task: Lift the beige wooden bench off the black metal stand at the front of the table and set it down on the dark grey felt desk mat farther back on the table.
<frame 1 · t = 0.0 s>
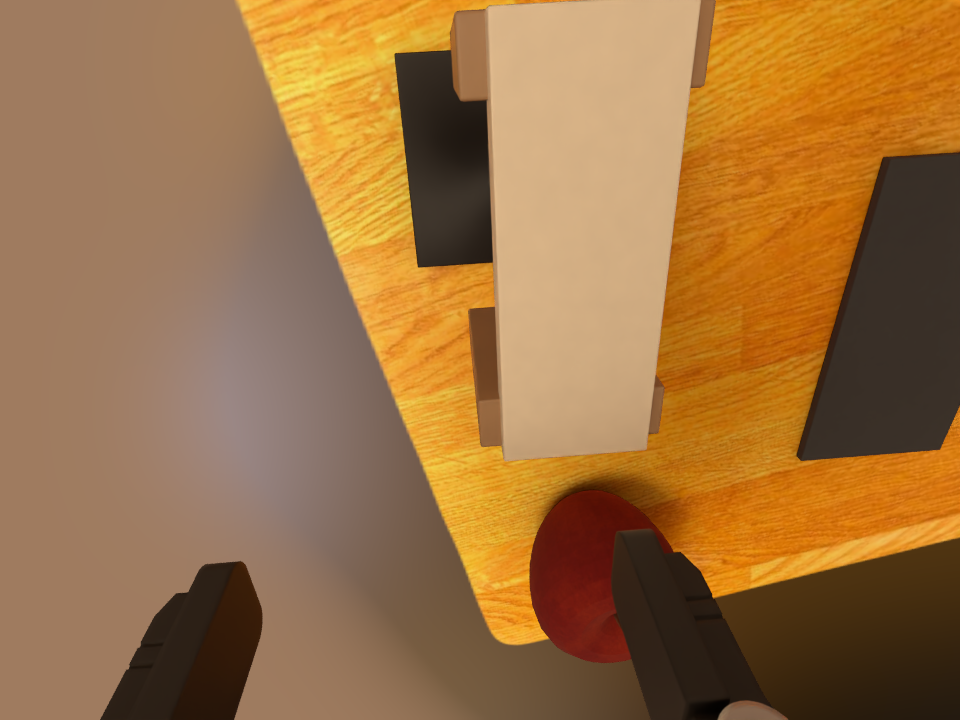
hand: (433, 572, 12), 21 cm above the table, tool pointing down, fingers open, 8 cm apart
beige wooden bench: (536, 204, 19), point 10 cm above the table, touching stand
apple: (582, 513, 40), on the table
mat: (911, 322, 34), on the table
stand: (506, 160, 28), on the table
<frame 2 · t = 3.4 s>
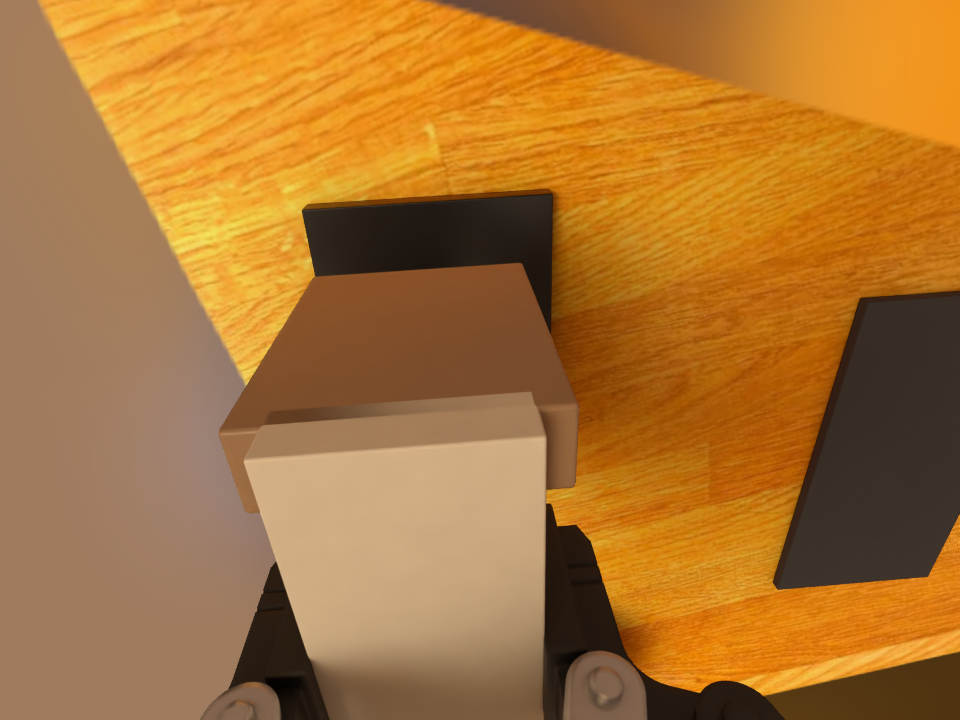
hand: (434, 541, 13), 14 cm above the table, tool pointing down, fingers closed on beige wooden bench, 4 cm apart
beige wooden bench: (437, 440, 16), point 10 cm above the table, touching gripper, stand
mat: (895, 455, 31), on the table
stand: (439, 307, 25), on the table
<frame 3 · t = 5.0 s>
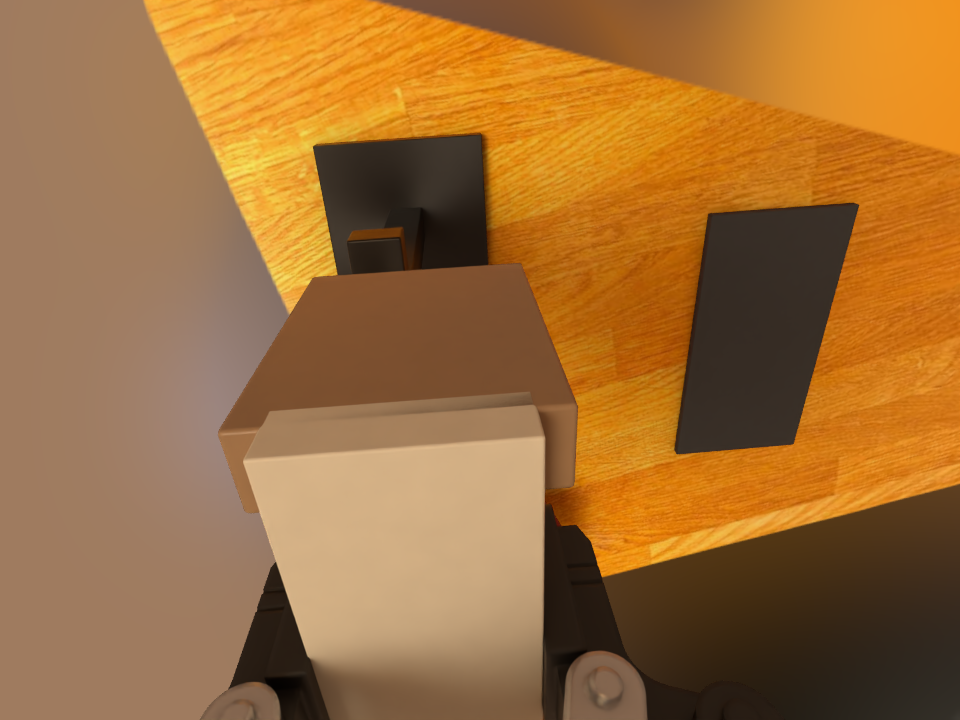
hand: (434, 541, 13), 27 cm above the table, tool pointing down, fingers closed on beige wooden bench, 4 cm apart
beige wooden bench: (436, 440, 16), point 23 cm above the table, touching gripper
mat: (753, 340, 41), on the table
stand: (408, 220, 35), on the table
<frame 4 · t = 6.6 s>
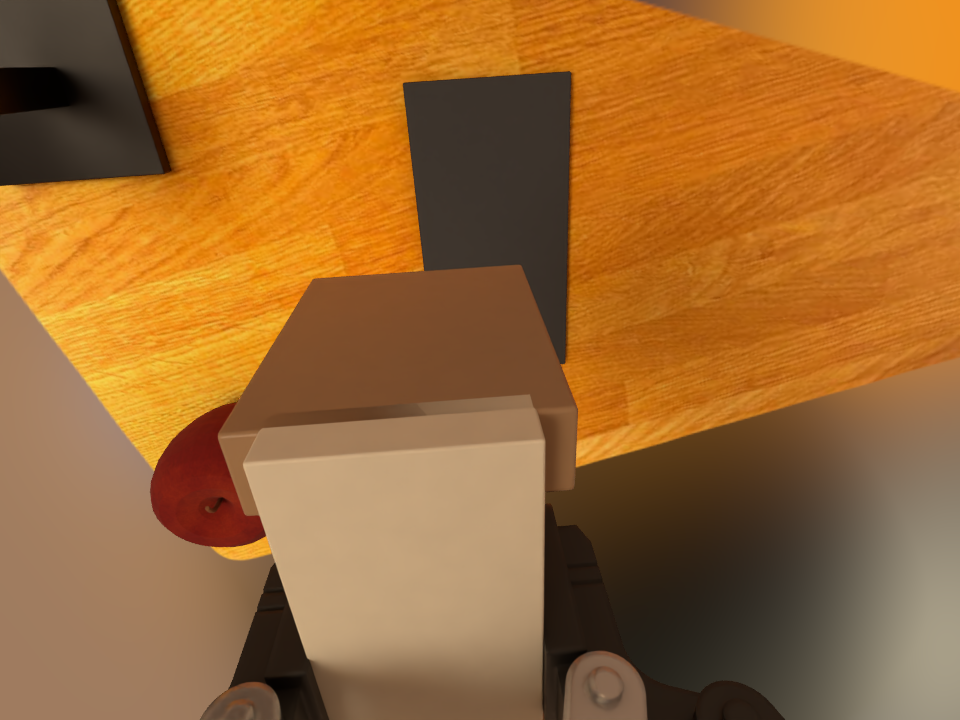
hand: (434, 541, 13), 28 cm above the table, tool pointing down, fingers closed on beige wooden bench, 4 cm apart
beige wooden bench: (436, 442, 16), point 24 cm above the table, touching gripper
apple: (256, 428, 44), on the table
mat: (494, 240, 37), on the table
stand: (55, 87, 31), on the table
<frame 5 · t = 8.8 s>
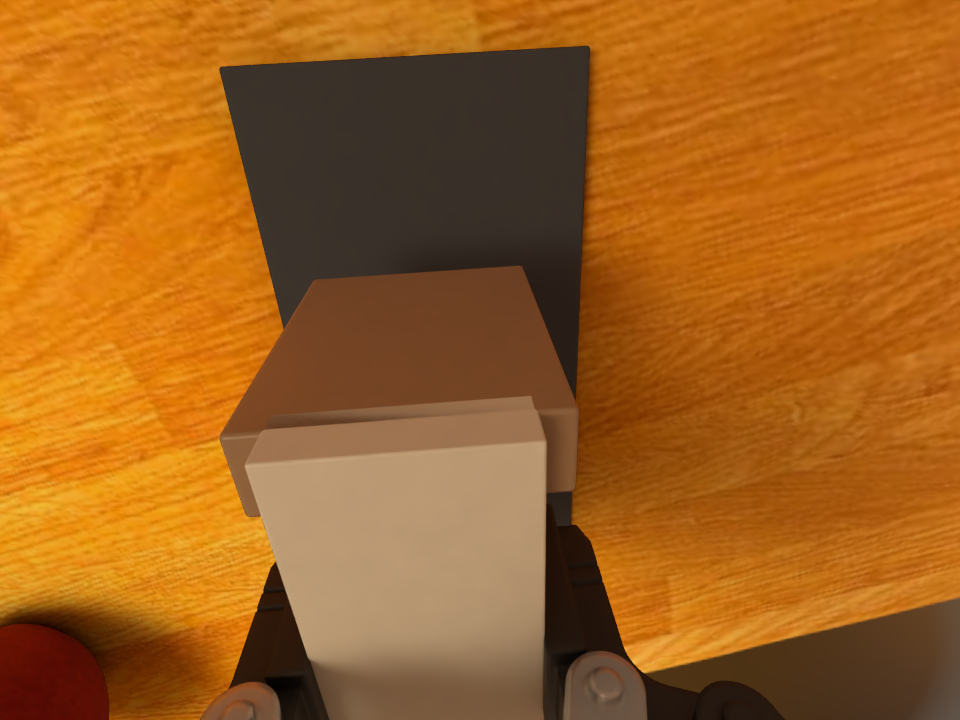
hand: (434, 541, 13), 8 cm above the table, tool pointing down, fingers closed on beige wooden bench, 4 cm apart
beige wooden bench: (437, 442, 16), point 4 cm above the table, touching gripper
apple: (50, 649, 26), on the table
mat: (438, 368, 20), on the table
when the fingers open (4 cm above the table, at t = 10.3 s): beige wooden bench stays where it is, resting on mat.
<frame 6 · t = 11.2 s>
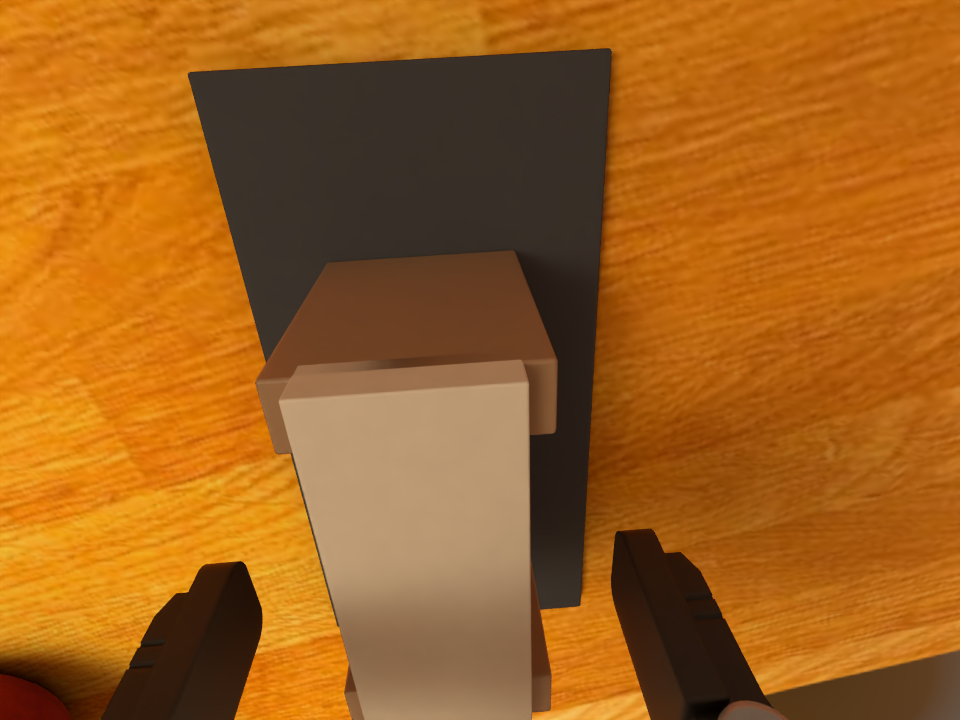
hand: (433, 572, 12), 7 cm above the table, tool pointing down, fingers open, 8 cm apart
beige wooden bench: (438, 414, 17), point 1 cm above the table, touching mat
apple: (19, 697, 24), on the table
mat: (438, 404, 18), on the table
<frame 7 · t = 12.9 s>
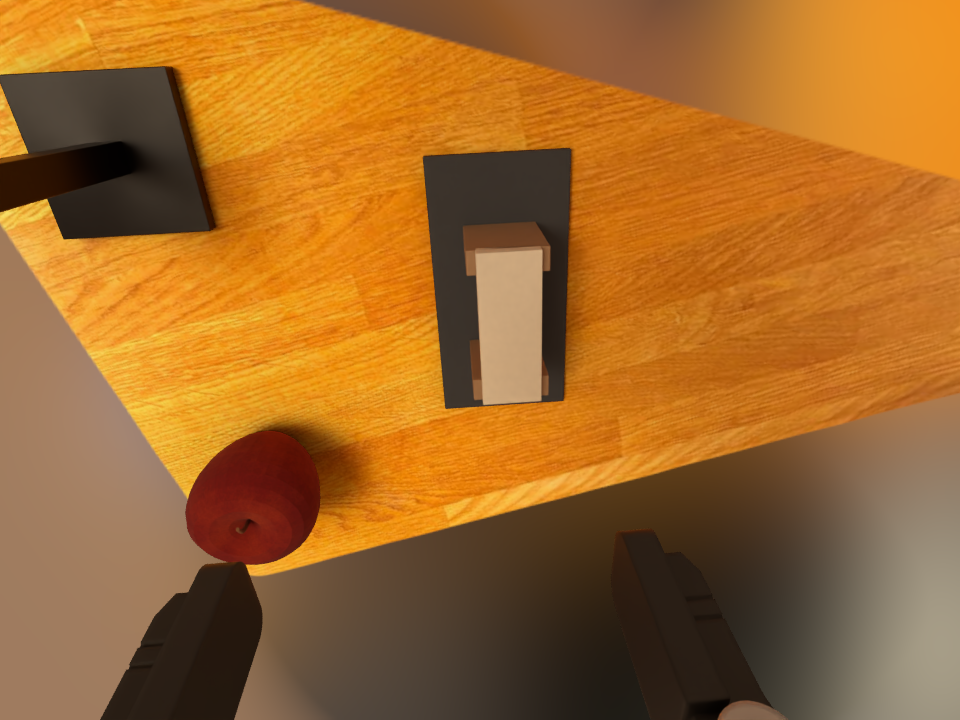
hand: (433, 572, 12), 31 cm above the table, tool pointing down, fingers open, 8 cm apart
beige wooden bench: (501, 293, 41), point 1 cm above the table, touching mat
apple: (278, 453, 48), on the table
mat: (500, 290, 41), on the table
stand: (119, 156, 36), on the table
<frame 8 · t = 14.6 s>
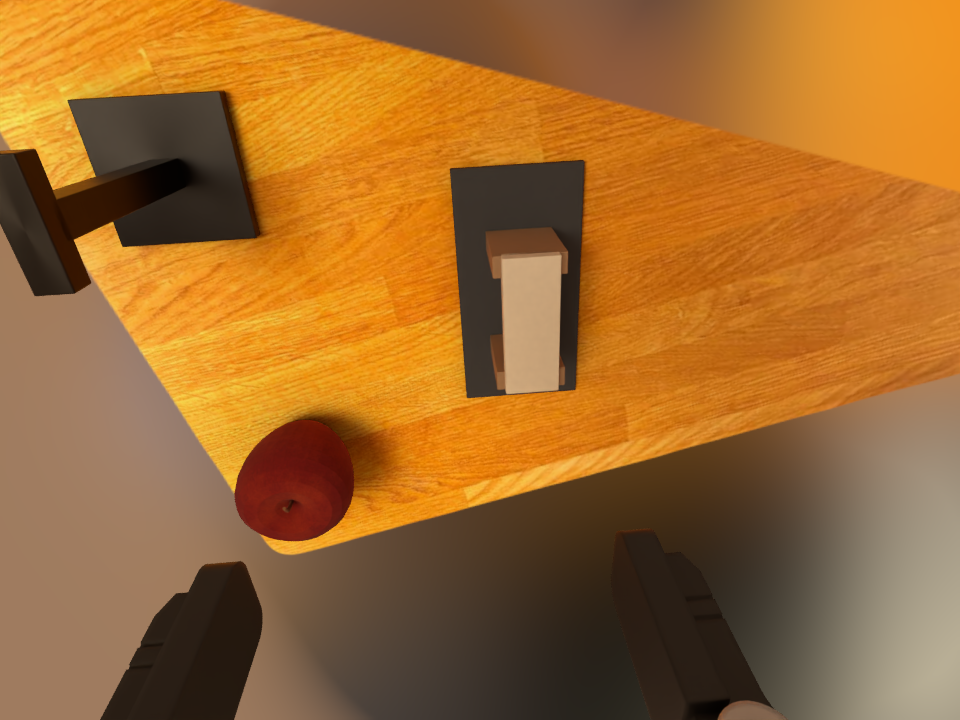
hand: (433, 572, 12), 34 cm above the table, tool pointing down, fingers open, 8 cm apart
beige wooden bench: (519, 292, 45), point 1 cm above the table, touching mat
apple: (312, 441, 52), on the table
mat: (518, 289, 45), on the table
stand: (174, 171, 39), on the table
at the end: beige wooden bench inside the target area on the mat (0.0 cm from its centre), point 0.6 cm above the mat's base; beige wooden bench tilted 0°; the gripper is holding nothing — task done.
